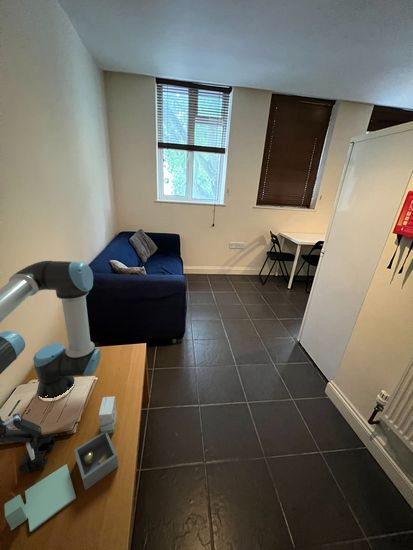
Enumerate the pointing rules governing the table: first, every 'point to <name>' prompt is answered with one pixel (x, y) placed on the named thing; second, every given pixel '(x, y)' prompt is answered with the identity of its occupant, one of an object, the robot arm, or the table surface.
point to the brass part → (89, 458)
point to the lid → (41, 500)
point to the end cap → (37, 454)
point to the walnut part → (103, 459)
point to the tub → (96, 459)
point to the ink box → (107, 414)
